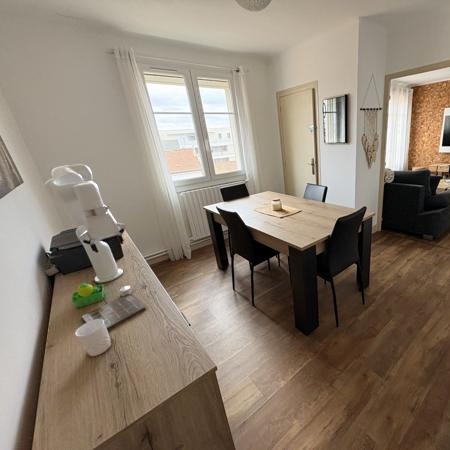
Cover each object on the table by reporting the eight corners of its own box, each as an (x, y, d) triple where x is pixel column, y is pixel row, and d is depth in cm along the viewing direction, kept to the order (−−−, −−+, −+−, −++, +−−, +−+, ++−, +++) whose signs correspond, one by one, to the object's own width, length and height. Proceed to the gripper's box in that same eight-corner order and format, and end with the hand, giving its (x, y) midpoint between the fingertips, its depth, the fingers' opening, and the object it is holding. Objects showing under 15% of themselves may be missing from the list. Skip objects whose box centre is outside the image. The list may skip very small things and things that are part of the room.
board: (82, 318, 103) (81, 316, 102) (129, 295, 116) (128, 293, 116) (96, 336, 93) (95, 334, 92) (145, 309, 106) (144, 307, 105)
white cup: (83, 361, 82) (71, 339, 79) (89, 345, 89) (79, 324, 85) (111, 351, 86) (100, 330, 82) (115, 336, 92) (105, 316, 89)
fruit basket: (107, 292, 120) (98, 273, 115) (105, 301, 113) (96, 281, 109) (77, 301, 114) (67, 281, 110) (74, 312, 107) (63, 291, 103)
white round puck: (119, 294, 117) (117, 289, 116) (129, 289, 121) (128, 284, 119) (123, 297, 115) (121, 292, 114) (133, 292, 118) (131, 287, 117)
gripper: (115, 205, 112) (127, 239, 118) (66, 216, 99) (83, 253, 105) (121, 207, 107) (133, 241, 113) (71, 219, 95) (88, 257, 101)
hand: (109, 247), depth 109 cm, fingers open, 9 cm apart
